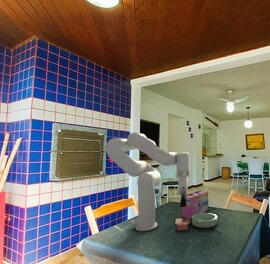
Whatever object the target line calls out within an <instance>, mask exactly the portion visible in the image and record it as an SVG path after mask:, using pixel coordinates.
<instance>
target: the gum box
mask: <svg viewBox="0 0 270 264" xmlns="http://www.w3.org/2000/svg"><path fill="white" fill-rule="evenodd" d="M181 209H182V211H181V212H182V213H181V214H182V215H181V216H182V218H190V220H192V216H193V215H194V214H198V213H206V212H208V211H209V209H210V208H209V190H208V191H202V190H196V191H194V192H192V193H187V195H186V207H181Z"/></svg>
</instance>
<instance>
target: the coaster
mask: <svg viewBox="0 0 270 264" xmlns="http://www.w3.org/2000/svg"><path fill="white" fill-rule="evenodd" d="M182 222H188V225H190V224H191V219H190V218H185V217H182V218H175V221H174V225H177V223H182Z"/></svg>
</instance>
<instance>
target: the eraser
mask: <svg viewBox="0 0 270 264" xmlns="http://www.w3.org/2000/svg"><path fill="white" fill-rule="evenodd" d="M188 230H189V224H188V222H182V223H177V224H176V231H188Z"/></svg>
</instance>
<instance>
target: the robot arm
mask: <svg viewBox="0 0 270 264" xmlns="http://www.w3.org/2000/svg"><path fill="white" fill-rule="evenodd" d="M105 150H106V154H107V156H108V158H109V159H110V160H111V161H112V162H113V163H115V165H116V166H118V167H119V168H120V169H121V170H123V171H124V173H126V174H127V175H128V176H129V177H133V178H136V177H137V181H136V182H137V183H136V184H137V193H138V203H137V204H138V205H137V208H138V209H137V211H138V212H137V219H131V220H130V221H129V223H130V225H132V226H133V225H135V226H134V229H135V230H136V231H139V232H149V231H152V230H155V229H157V228H158V223H157V222H156V191H155V186H157V185H159V184H160V183H161V180H162V176H161V174H160V172H159V171H158V170H157V169H155V168H154V167H153V166H151V164H149V163H148V162H147V161H145V160H137V159H134V158H133V157H132V156H130V155H129V154H128V153H127V152H130V151H133V150H138V151H140V152H142V153H144V154H146V155H147V156H148V157H149V158H150V159H152V161H155V162H157V163H158V164H160V165H162V166H165V167H169V166H174V165H176V178H178V180H177V182H178V183H177V184H178V185H177V194H178V196H180V199H179V201H180V204H179V205H180V208H182V207H186V195H188V189H189V188H188V185H189V184H188V183H189V177H191V173H190V172H191V171H190V167H191V166H190V153H189V152H187V151H185V152H183V151H182V152H174V151H173V152H172V151H166V150H164V149H162V148H160V147H158V146H157V144H156V142H155V140H152V139H150V138H148V137H147V136H146V134H144V133H140V132H131V133H129V135H127V138H123V137H114V138H111V139H109V140H108V141H107V143H106V145H105Z"/></svg>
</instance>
